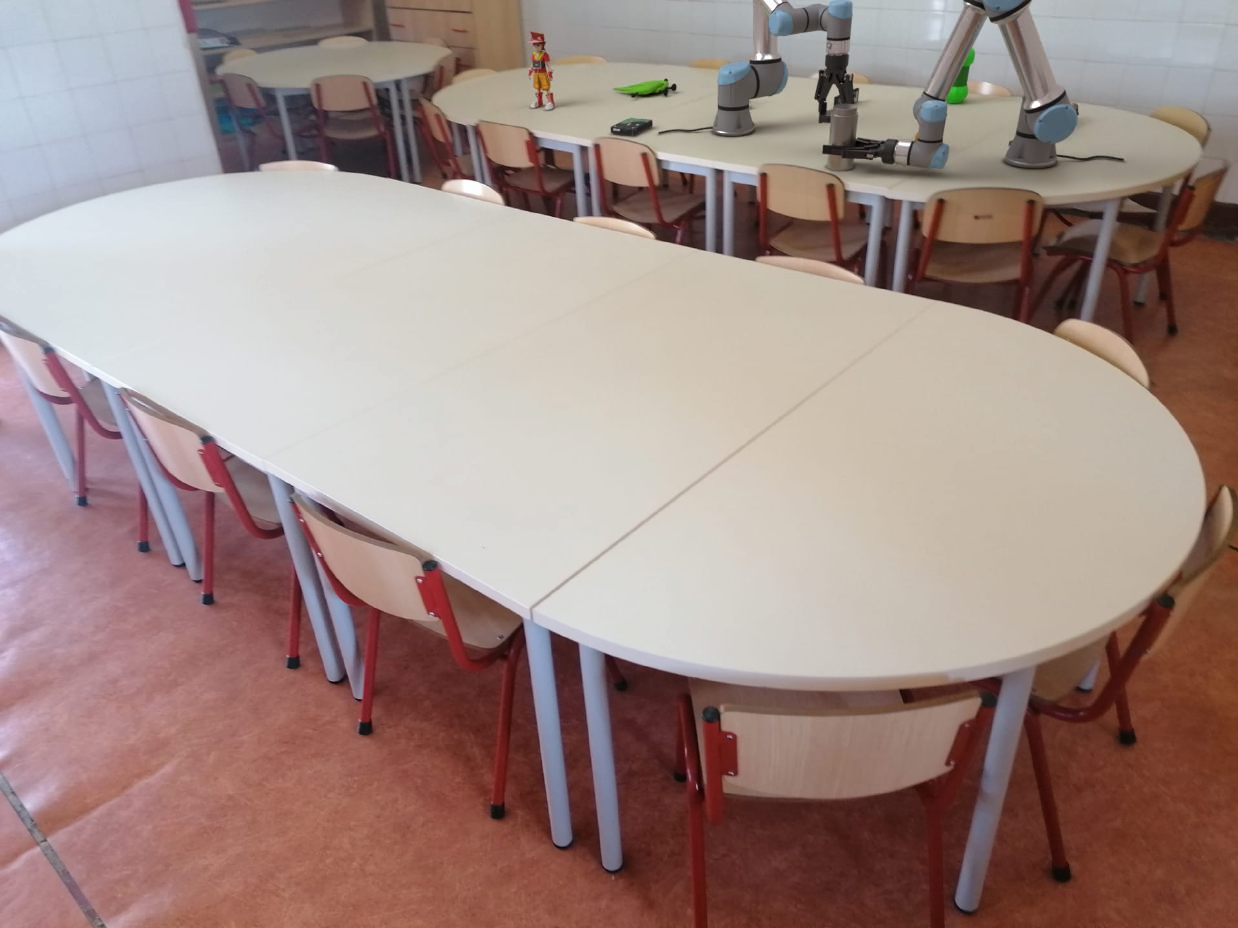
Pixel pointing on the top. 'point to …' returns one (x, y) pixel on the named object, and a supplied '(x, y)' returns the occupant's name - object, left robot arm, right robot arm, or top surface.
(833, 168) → the jar
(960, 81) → the plastic bottle
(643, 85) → the toy
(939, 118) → the right robot arm
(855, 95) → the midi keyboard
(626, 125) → the disk drive
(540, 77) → the toy
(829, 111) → the lid
